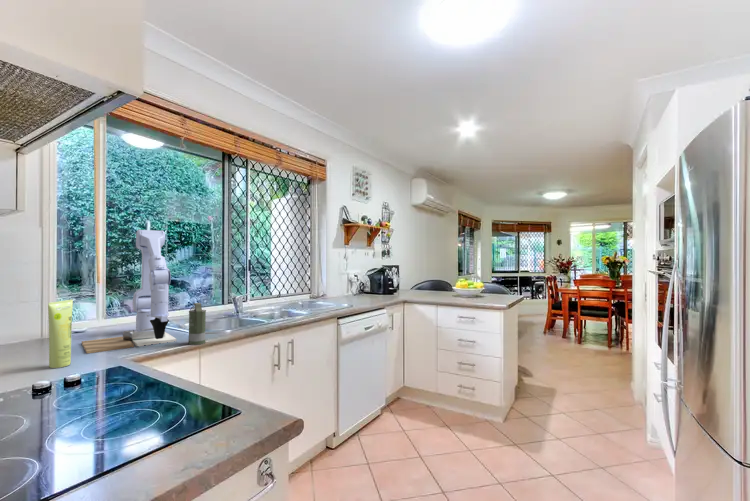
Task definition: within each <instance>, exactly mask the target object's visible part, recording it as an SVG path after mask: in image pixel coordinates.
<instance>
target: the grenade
mask: <svg viewBox="0 0 750 501" xmlns="http://www.w3.org/2000/svg"><path fill="white" fill-rule="evenodd" d="M206 313H207V310H206V309H202V303H201V302H193V305H192V306H191V308H190V309H189V311H188V343H187V344H188V345H191V346H198V345H199V346H200V345H204V344H206V321H207V320H206V319H207V318H206V317H207V316H206Z"/></svg>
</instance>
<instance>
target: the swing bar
mask: <svg viewBox="0 0 750 501" xmlns="http://www.w3.org/2000/svg"><path fill="white" fill-rule="evenodd" d="M122 332H123V333H122V336H123V340H131V339H143V338H154V337H155V334H154V330H144V331H133V330H124V331H122ZM165 332H166V330H165V331H164V335H163V337H165Z"/></svg>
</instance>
